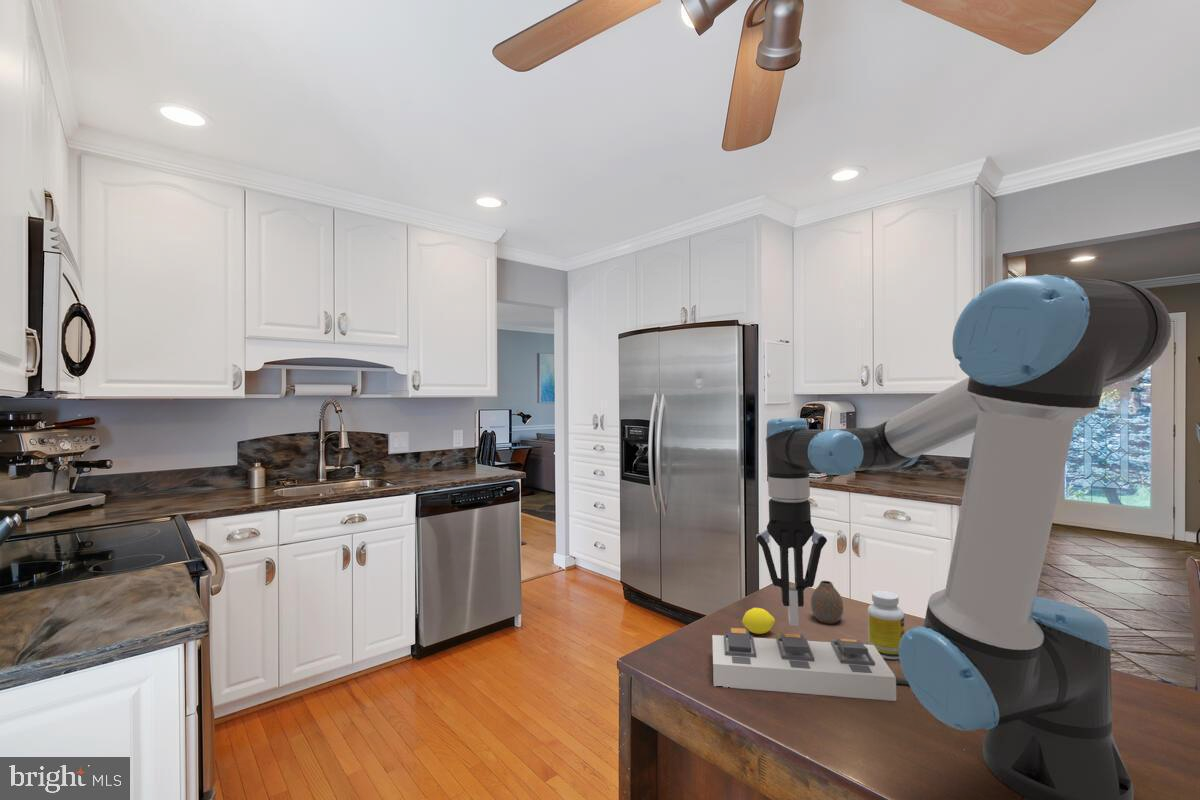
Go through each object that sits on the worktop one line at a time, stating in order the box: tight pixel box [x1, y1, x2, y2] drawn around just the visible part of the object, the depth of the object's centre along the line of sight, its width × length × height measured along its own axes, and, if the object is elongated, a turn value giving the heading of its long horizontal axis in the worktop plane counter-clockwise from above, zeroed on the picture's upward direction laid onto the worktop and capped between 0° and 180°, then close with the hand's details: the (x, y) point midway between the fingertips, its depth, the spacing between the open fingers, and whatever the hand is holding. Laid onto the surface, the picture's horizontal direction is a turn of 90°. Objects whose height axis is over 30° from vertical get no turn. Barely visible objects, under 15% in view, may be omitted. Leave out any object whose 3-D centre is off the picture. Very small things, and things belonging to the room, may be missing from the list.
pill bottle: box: [867, 590, 906, 660], centre depth 106 cm, size 6×6×12 cm
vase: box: [810, 580, 844, 625], centre depth 122 cm, size 7×7×9 cm
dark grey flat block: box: [780, 632, 809, 653], centre depth 99 cm, size 6×4×1 cm, turn 169°
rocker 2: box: [835, 638, 868, 655], centre depth 97 cm, size 6×4×1 cm, turn 168°
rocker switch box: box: [711, 633, 910, 702], centre depth 97 cm, size 12×40×5 cm, turn 79°
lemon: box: [741, 607, 776, 635], centre depth 116 cm, size 7×5×5 cm
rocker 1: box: [727, 626, 751, 653], centre depth 101 cm, size 6×4×1 cm, turn 169°
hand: (793, 622), depth 101 cm, fingers closed
